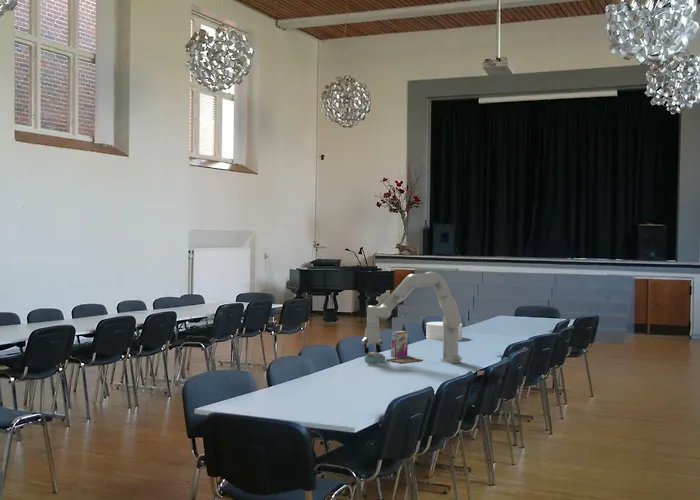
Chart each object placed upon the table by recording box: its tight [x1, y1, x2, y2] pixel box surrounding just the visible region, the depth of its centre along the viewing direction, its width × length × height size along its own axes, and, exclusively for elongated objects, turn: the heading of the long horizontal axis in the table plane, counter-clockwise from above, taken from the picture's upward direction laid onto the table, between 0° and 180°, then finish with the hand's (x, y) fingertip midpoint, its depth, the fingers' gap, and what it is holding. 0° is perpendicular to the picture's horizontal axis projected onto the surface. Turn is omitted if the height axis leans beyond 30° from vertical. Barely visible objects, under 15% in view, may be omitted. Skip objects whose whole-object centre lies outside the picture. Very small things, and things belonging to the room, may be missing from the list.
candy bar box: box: [390, 330, 409, 358], centre depth 492 cm, size 11×5×16 cm, turn 130°
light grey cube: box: [373, 352, 384, 357], centre depth 468 cm, size 4×4×5 cm
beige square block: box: [366, 351, 376, 357], centre depth 472 cm, size 4×4×5 cm
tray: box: [385, 356, 423, 364], centre depth 473 cm, size 14×18×1 cm
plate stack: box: [425, 321, 463, 341], centre depth 587 cm, size 28×28×12 cm
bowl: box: [364, 354, 386, 364], centre depth 470 cm, size 12×12×4 cm
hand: (372, 352), depth 472 cm, fingers open, 9 cm apart
